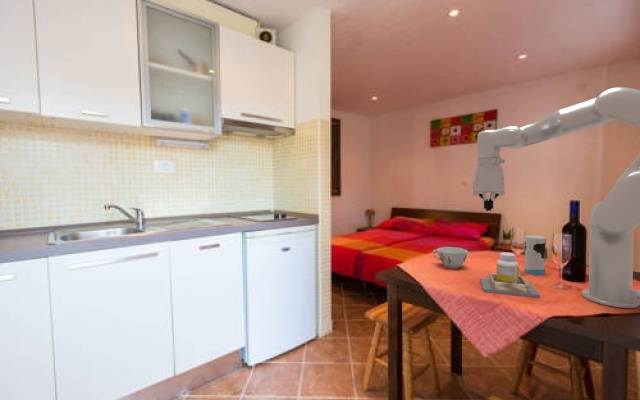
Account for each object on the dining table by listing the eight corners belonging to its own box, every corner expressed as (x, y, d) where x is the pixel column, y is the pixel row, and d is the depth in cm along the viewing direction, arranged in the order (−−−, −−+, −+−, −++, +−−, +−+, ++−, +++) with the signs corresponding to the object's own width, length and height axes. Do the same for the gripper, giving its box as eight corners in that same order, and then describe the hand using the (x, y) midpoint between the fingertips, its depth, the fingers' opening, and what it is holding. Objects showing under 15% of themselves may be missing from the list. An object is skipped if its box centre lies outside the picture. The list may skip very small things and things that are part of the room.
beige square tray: (522, 282, 104) (522, 275, 104) (529, 293, 95) (529, 285, 95) (488, 279, 109) (488, 273, 109) (492, 289, 99) (492, 282, 99)
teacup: (471, 265, 130) (471, 248, 129) (462, 272, 121) (462, 254, 120) (438, 260, 140) (438, 244, 140) (427, 266, 131) (427, 249, 131)
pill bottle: (511, 282, 105) (511, 251, 104) (522, 289, 98) (522, 256, 98) (493, 282, 105) (493, 251, 105) (503, 289, 99) (503, 256, 98)
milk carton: (549, 275, 114) (549, 238, 113) (532, 275, 114) (533, 238, 113) (536, 270, 121) (536, 235, 120) (520, 270, 121) (521, 235, 120)
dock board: (530, 285, 104) (530, 282, 104) (539, 297, 93) (539, 294, 93) (480, 280, 111) (480, 278, 111) (483, 291, 100) (483, 289, 100)
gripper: (509, 162, 110) (509, 209, 111) (466, 164, 116) (466, 209, 117) (513, 161, 103) (513, 211, 104) (467, 163, 109) (467, 211, 110)
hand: (488, 210), depth 110 cm, fingers closed
